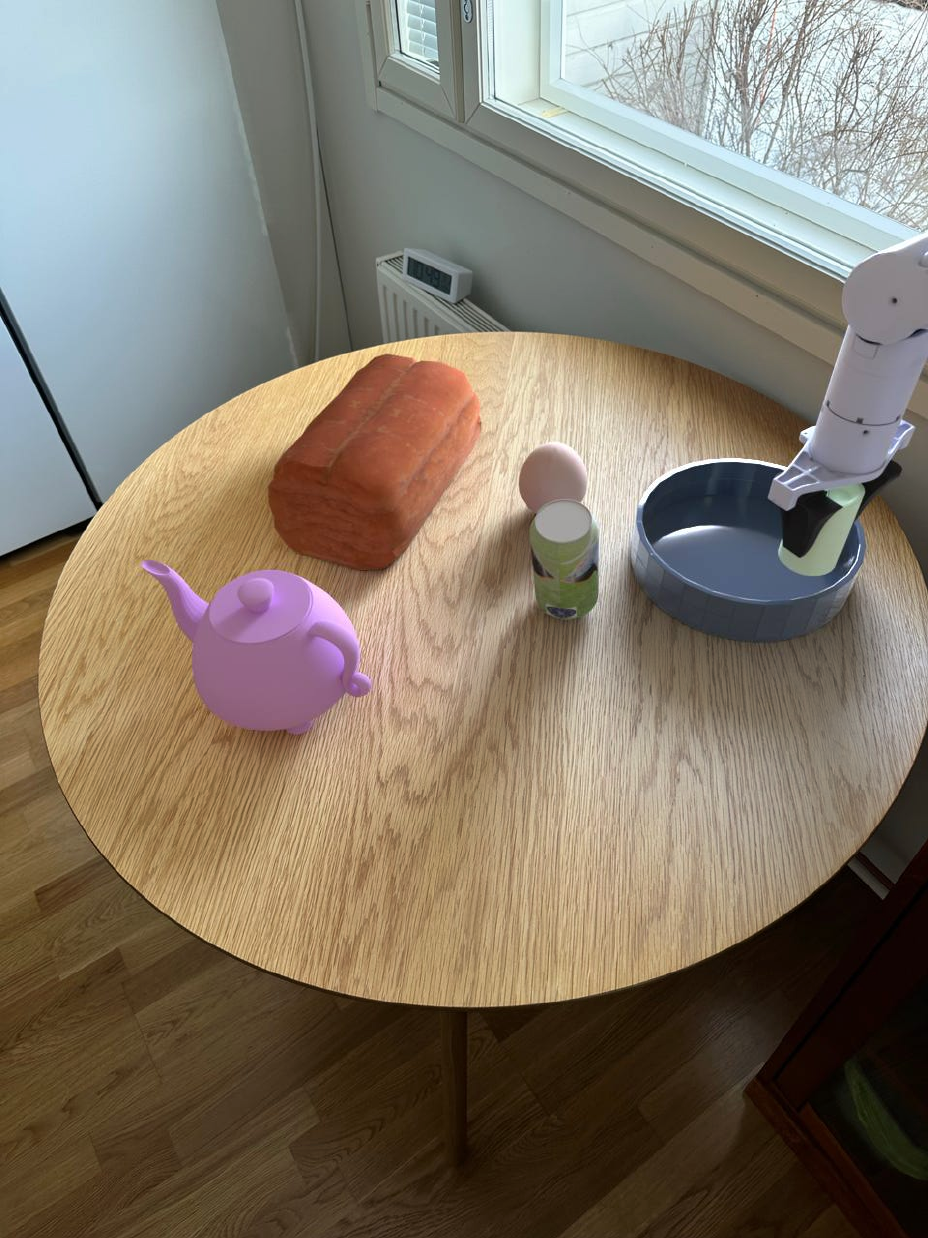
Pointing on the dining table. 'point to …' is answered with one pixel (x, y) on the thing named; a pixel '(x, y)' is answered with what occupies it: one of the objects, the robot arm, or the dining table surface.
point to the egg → (552, 476)
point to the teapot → (267, 648)
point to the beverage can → (565, 559)
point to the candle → (828, 535)
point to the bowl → (731, 555)
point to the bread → (375, 462)
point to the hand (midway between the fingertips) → (814, 538)
